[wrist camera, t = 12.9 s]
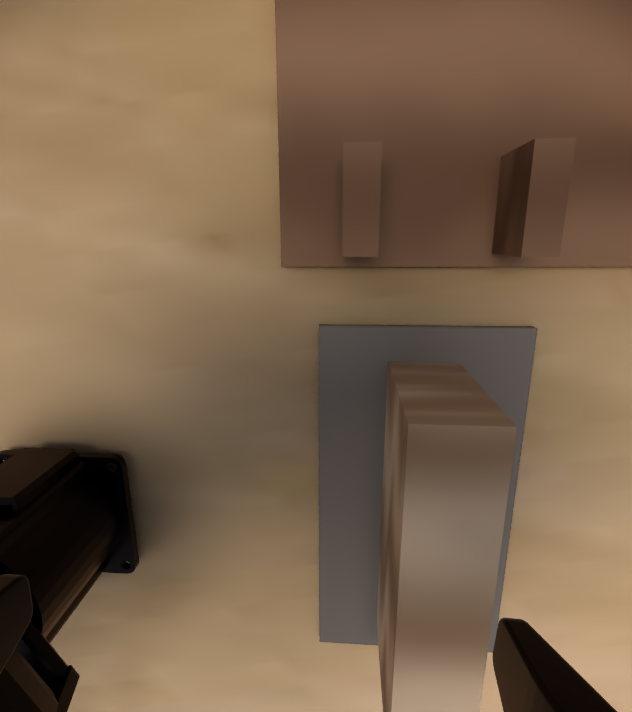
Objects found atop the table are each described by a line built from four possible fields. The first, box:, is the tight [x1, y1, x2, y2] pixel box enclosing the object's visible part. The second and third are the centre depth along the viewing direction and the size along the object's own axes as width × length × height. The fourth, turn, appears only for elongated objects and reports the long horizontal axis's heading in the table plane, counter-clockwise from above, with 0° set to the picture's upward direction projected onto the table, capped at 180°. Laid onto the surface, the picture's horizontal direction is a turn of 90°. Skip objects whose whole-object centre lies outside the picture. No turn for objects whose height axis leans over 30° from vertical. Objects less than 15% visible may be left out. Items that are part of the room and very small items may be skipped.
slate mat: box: [319, 324, 537, 652], centre depth 20 cm, size 17×9×1 cm, turn 0°
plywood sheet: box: [377, 361, 517, 712], centre depth 17 cm, size 14×3×6 cm, turn 0°
